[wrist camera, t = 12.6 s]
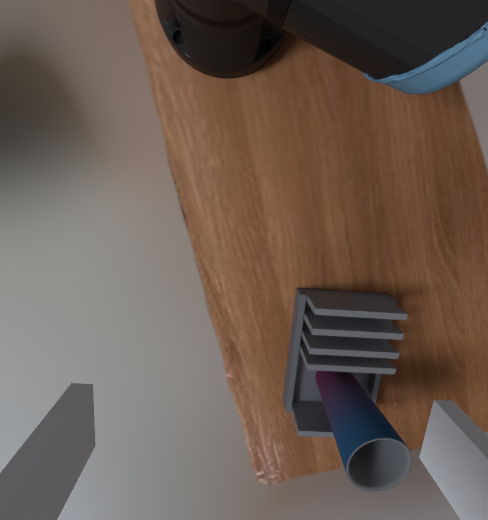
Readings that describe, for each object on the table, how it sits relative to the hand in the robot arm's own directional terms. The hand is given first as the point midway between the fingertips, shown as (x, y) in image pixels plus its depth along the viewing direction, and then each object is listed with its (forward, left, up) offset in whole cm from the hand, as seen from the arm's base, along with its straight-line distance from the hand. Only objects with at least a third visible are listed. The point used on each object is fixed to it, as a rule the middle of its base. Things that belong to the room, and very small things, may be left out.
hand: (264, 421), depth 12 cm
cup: (+18, +15, -31) cm, 38 cm away
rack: (+14, +15, -32) cm, 38 cm away
